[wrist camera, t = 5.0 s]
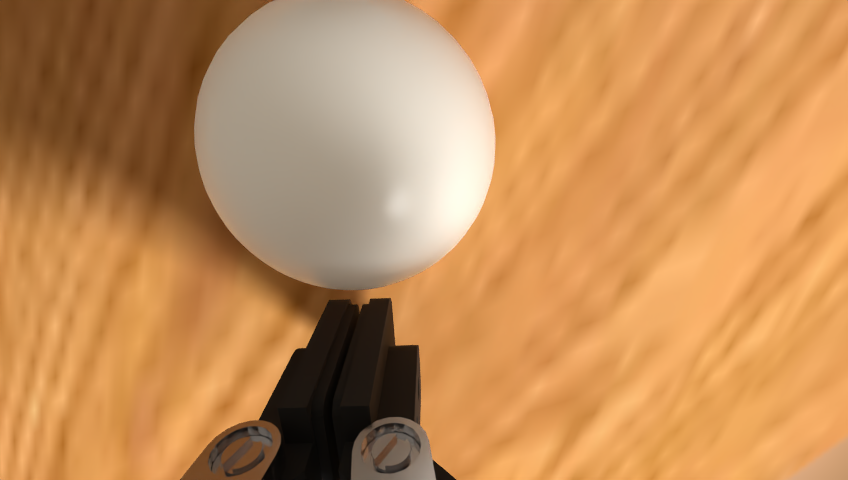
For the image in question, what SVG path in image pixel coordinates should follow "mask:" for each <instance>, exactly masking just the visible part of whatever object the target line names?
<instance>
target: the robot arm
mask: <svg viewBox="0 0 848 480" xmlns="http://www.w3.org/2000/svg"><path fill="white" fill-rule="evenodd" d="M420 409H421V379H420V358H419V346H418V345H403V346H395V337H394V324H393V312H392V302H391V298H381V299H370V302H369V304H363V305H362V308H361V312H360V314H359V307H358V305H357V304H356V305H352V303H351V300H329V302H328V303H327V305H326V308H325V310H324V312H323V314H322V316H321V318H320V320H319V322H318V324H317V326H316V328H315V331H314V333H313V335H312V337H311V339H310V341H309V343H308V345H307V347H306V348H299V349H296V350H295V352H294V353H293V355H292V357H291V359H290V361H289V363H288V365H287V366H286V368H285V370H284V372H283V374H282V376H281V378H280V380H279V382H278V384H277V386H276V388H275V390H274V392H273V393H272V395H271V397H270V399H269V401H268V403H267V405H266V407H265V409H264V411H263V413H262V415H261V417H260V419H259V420H254V421H247V422H243V423H239V424H237V425H235V426H233V427H231V428H228V429H227V430H225V431H224V432H222V433H221V434H219V435H218V436H216V437H215V438H214V439H213V440H212V441H211V442H210V443H209V444H208V445H207V447H206V448H205V449H204V450H203V452H202V453H201V454H200V455H199V457H198V458H197V459H196V460H195V462H194V463H193V464H192V465H191V467H190V468H189V469H188V470H187V472H186V473H185V474H184V475H183V477H182V478H181V479H180V480H456V479H455V478H454V477H453V476H451V475H450V474H449V473H448V472H447V471H445V470H444V469H443V468H442V467H441V466H440V465H438V464H437V463H436V462H435V461H434V460H432V455H431V450H430V444H429V440H428V437H427V435H426V432H425V431H424V430H423V429H422V427H421V426H420Z"/></svg>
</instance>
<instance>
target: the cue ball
mask: <svg viewBox="0 0 848 480" xmlns="http://www.w3.org/2000/svg"><path fill="white" fill-rule="evenodd" d="M194 141H195V151H196V156H197V162H198V167H199V171H200V175H201V178H202V181H203V184H204V187H205V190H206V192H207V194H208V196H209V198H210V200H211V202H212V204H213V206H214V208H215V210H216V212H217V213H218V215H219V216H220V218H221V219H222V221H223V223H224V224H225V226H226V227H227V228H228V229H229V231H230V232H231V233H232V234H233V235H234V237H235V238H236V239H237V240H238V241H239V242H240V243H241V244H242V245H243V246H244V247H245V248H246V249H247V250H249V251H250V252H251V253H252V254H253V255H255V256H256V257H257V258H259V259H260V260H261V261H262V262H264V263H265V264H267V265H268V266H270V267H272V268H273V269H275V270H276V271H278V272H280V273H282V274H284V275H286V276H288V277H291V278H293V279H296V280H298V281H301V282H304V283H307V284H311V285H314V286H319V287H324V288H329V289H338V290H364V289H373V288H378V287H384V286H387V285H391V284H394V283H397V282H400V281H403V280H405V279H408V278H410V277H413V276H415V275H417V274H419V273H421V272H422V271H424V270H426V269H428V268H429V267H431V266H432V265H433V264H435V263H436V262H438V261H439V260H440V259H441V258H443V257H444V256H445V255H446V254H447V253H448V252H449V251H451V250H452V249H453V248H454V247H455V246H456V245H457V244H458V242H459V241H460V240H461V239H462V238H463V237H464V235H465V234H466V232H467V231H468V229H469V228H470V226H471V225H472V223H473V222H474V220H475V219H476V217H477V216H478V214H479V212H480V209H481V207H482V205H483V203H484V200H485V197H486V194H487V191H488V188H489V185H490V182H491V179H492V173H493V168H494V160H495V129H494V119H493V115H492V111H491V107H490V103H489V99H488V96H487V92H486V90H485V87H484V85H483V83H482V80H481V78H480V75H479V73H478V72H477V70H476V68H475V66H474V65H473V63H472V61H471V59H470V58H469V56H468V55H467V54H466V52H465V51H464V50H463V49H462V47H461V46H460V45H459V43H458V42H457V41H456V40H455V38H454V37H453V36H452V35H451V34H450V33H449V32H448V31H447V30H446V29H445V28H444V27H442V26H441V25H440V24H439V23H438V22H437V21H436V20H434V19H433V18H432V17H430V16H429V15H428V14H426V13H425V12H424V11H422V10H421V9H419V8H417V7H415V6H414V5H412V4H410V3H408V2H406V1H404V0H274V1H272V2H269V3H267V4H266V5H264V6H263V7H261V8H260V9H258V10H257V11H255V12H254V13H252V14H251V15H250V16H249V17H248V18H247V19H245V20H244V21H243V22H242V23H241V24H240V25H239V26H238V27H237V28H236V29H235V30H234V31H233V32H232V33H231V34H230V35H229V36H228V37H227V38H226V40H225V41H224V42H223V44H222V45H221V47H220V48H219V49H218V51H217V52H216V54H215V56H214V58H213V60H212V62H211V64H210V66H209V68H208V70H207V72H206V74H205V76H204V79H203V82H202V85H201V88H200V92H199V95H198V99H197V106H196V114H195V123H194Z"/></svg>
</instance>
